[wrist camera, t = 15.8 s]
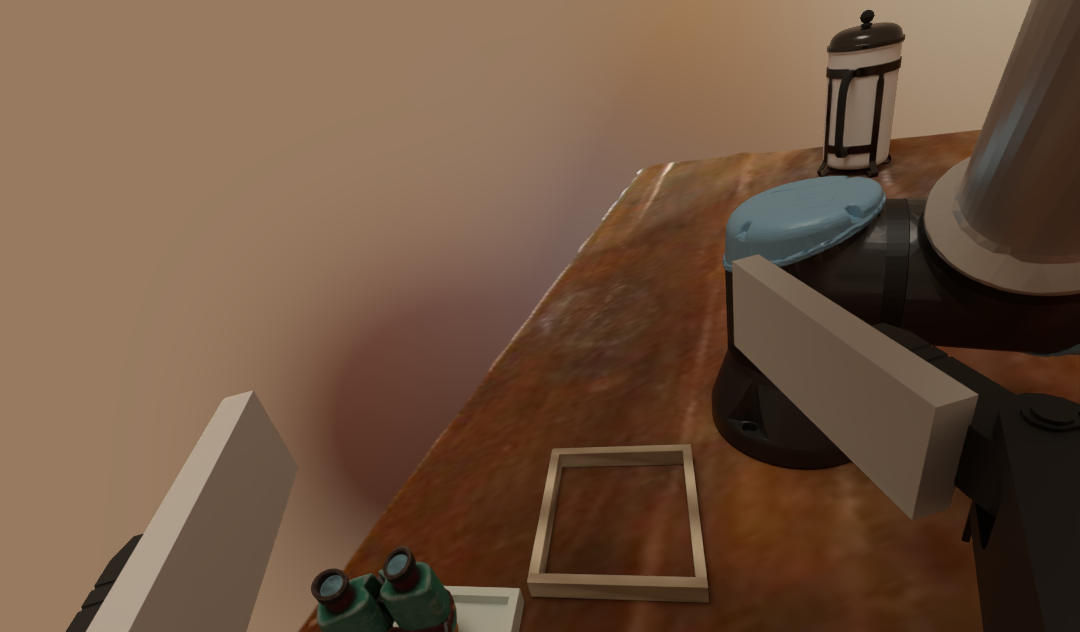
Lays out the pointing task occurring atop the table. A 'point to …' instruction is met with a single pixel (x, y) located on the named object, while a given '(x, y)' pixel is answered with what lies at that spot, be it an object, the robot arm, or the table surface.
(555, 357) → the table surface
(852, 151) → the coffee press
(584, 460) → the holder
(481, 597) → the tray
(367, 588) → the binoculars
